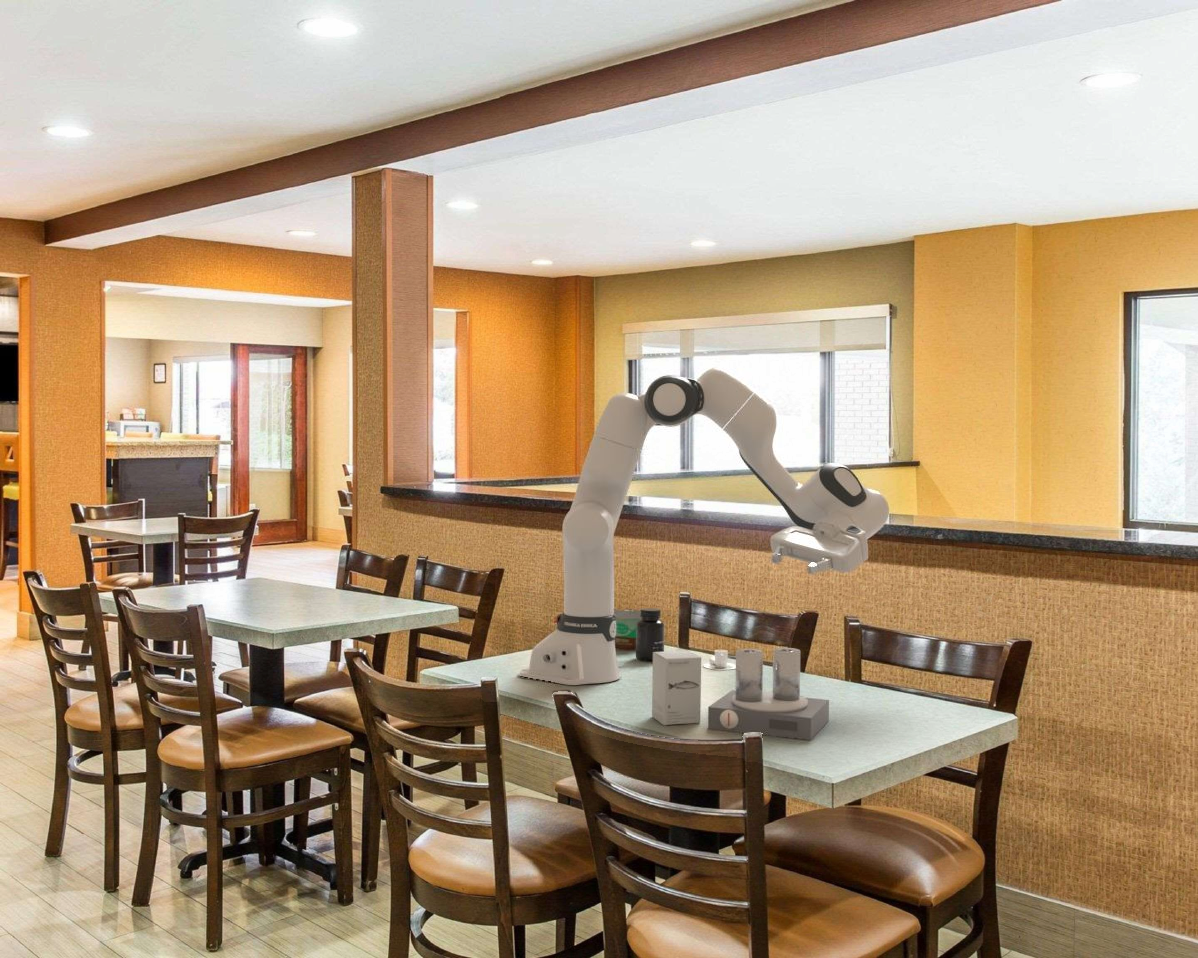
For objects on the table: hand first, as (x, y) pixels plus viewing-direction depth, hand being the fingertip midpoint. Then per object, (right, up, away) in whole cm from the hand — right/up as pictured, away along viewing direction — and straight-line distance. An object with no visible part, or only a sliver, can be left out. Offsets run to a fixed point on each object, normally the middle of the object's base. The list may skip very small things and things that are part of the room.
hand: (791, 565), depth 230 cm
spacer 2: (-4, -23, -18) cm, 30 cm away
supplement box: (-25, -28, -16) cm, 41 cm away
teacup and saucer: (-8, -27, +36) cm, 45 cm away
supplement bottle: (-27, -26, +42) cm, 56 cm away
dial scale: (-7, -28, -19) cm, 35 cm away
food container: (-32, -25, +55) cm, 69 cm away
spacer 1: (-11, -23, -19) cm, 32 cm away
